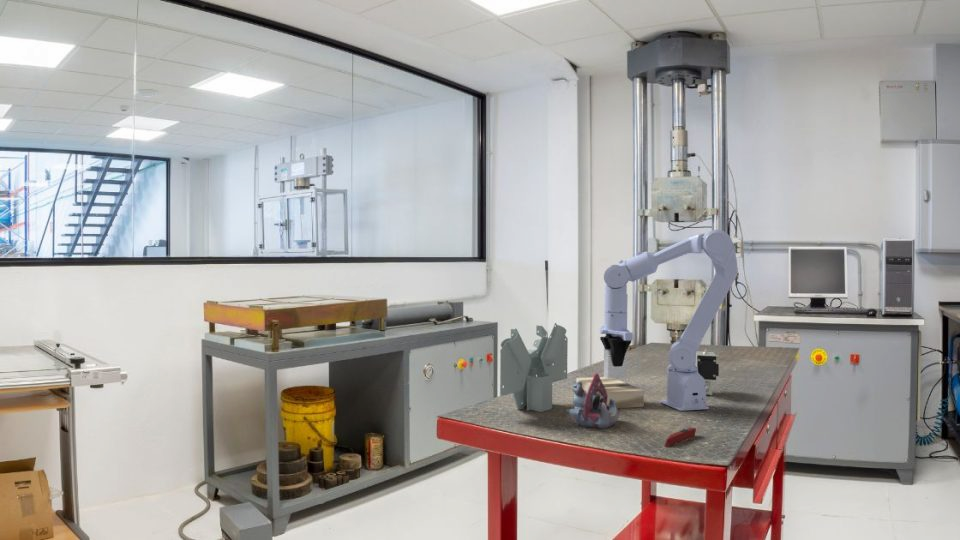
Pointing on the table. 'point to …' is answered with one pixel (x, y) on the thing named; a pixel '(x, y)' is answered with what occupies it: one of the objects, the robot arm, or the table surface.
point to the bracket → (533, 368)
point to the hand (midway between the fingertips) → (615, 365)
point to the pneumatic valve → (707, 367)
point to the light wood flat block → (618, 392)
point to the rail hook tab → (610, 369)
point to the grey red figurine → (593, 405)
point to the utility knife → (680, 436)
